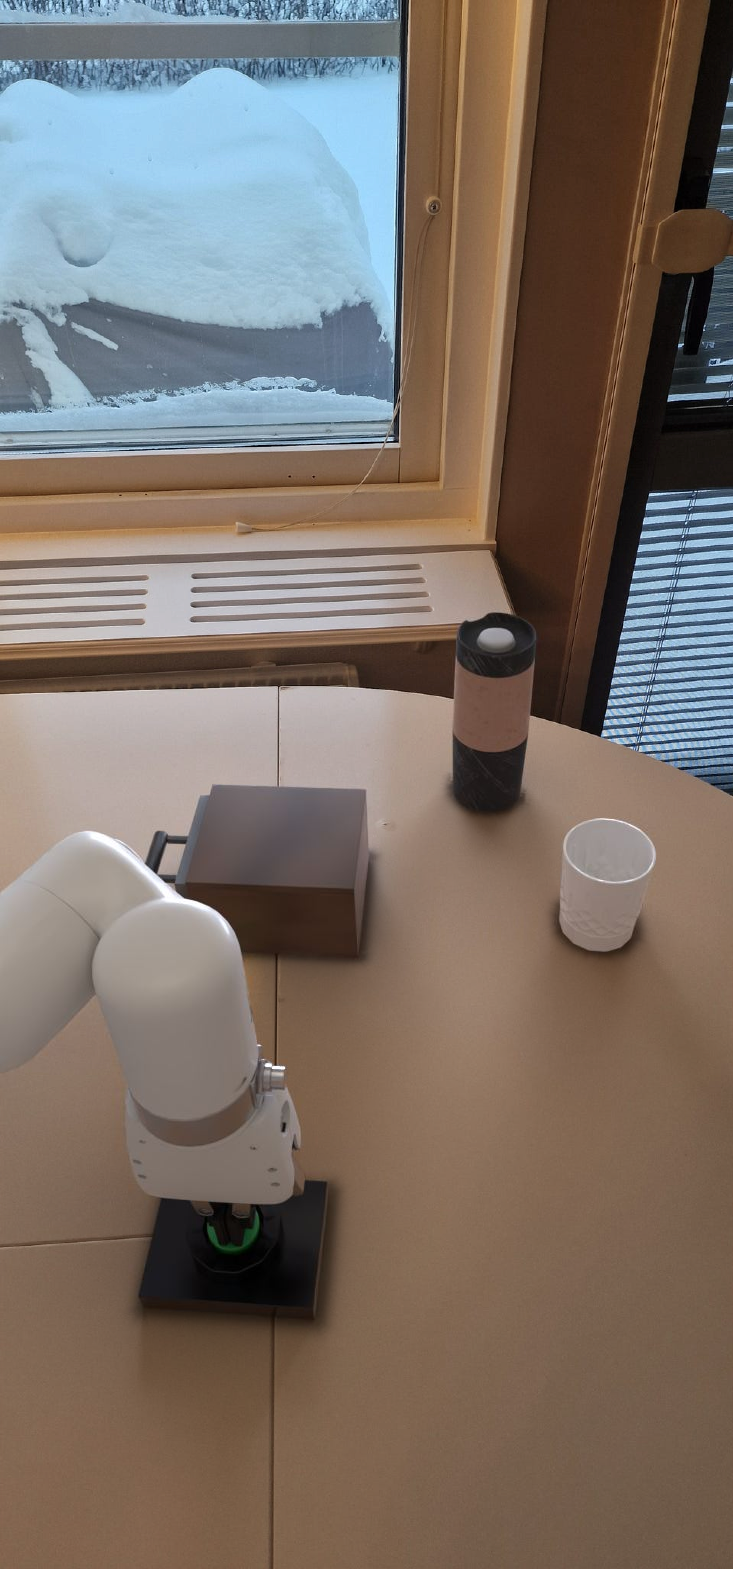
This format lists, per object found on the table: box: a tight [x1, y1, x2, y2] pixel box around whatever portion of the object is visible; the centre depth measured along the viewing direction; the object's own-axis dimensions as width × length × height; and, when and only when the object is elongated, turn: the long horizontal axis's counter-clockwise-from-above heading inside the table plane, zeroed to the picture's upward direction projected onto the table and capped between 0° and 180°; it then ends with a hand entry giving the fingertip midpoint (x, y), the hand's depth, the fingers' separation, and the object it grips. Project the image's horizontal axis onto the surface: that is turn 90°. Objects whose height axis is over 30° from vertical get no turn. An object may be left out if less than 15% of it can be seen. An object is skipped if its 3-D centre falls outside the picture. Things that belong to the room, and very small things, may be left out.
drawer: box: [144, 794, 210, 900], centre depth 96 cm, size 18×11×8 cm, turn 85°
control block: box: [138, 1179, 330, 1321], centre depth 73 cm, size 12×9×4 cm
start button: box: [207, 1211, 261, 1256], centre depth 72 cm, size 4×4×2 cm
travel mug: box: [451, 611, 537, 813], centre depth 103 cm, size 8×8×20 cm
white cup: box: [558, 818, 657, 953], centre depth 93 cm, size 8×8×10 cm
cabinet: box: [185, 783, 370, 959], centre depth 96 cm, size 15×13×10 cm
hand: (234, 1224), depth 72 cm, fingers closed
